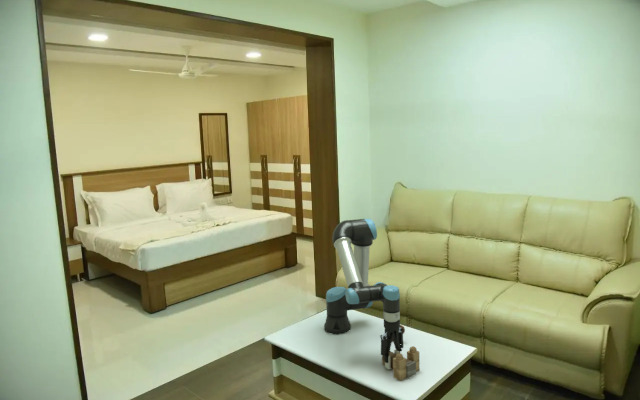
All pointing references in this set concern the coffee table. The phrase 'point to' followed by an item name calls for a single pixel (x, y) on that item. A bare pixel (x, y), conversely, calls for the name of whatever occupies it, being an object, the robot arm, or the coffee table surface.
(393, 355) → the rail
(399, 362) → the knobbed wooden twin blocks
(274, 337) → the coffee table surface
